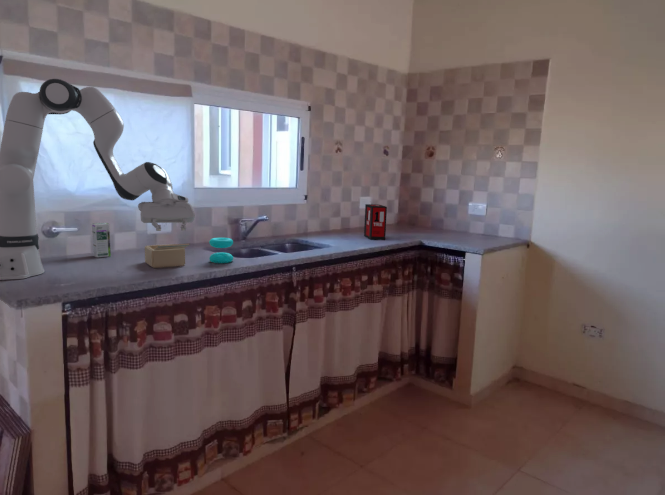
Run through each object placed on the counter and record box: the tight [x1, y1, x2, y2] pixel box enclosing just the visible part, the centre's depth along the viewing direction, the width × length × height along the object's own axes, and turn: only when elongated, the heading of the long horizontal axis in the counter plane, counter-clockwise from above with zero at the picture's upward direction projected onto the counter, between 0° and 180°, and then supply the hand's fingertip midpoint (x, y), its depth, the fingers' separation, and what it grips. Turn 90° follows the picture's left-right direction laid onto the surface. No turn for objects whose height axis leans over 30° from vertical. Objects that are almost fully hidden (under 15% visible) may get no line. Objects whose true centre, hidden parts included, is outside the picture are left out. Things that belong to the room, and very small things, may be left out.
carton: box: [144, 243, 186, 269], centre depth 195 cm, size 13×14×7 cm
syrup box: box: [91, 222, 112, 259], centre depth 205 cm, size 6×6×14 cm
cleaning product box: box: [363, 203, 388, 241], centre depth 289 cm, size 16×9×20 cm, turn 10°
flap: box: [154, 243, 191, 250], centre depth 185 cm, size 12×1×8 cm
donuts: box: [208, 237, 234, 264], centre depth 203 cm, size 10×10×10 cm
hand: (171, 229), depth 182 cm, fingers open, 8 cm apart
